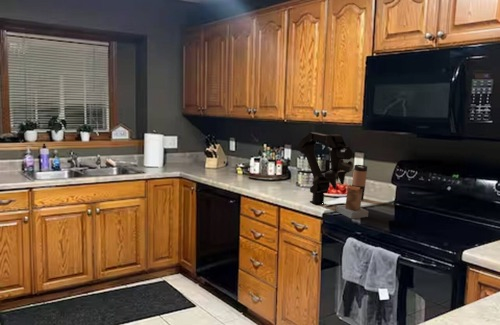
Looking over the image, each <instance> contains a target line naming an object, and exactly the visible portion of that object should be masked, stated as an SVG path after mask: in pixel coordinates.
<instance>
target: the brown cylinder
mask: <svg viewBox="0 0 500 325" xmlns="http://www.w3.org/2000/svg"><path fill="white" fill-rule="evenodd" d="M346 191H347V192H346V199H345V205H346V207H345V209H349V210H354V211H357V210H359V209H360V208H361V206H362V203H361V202H362V200H361V197H362V189H360V190H359V191H355V190H350V187H348V188H347V190H346Z"/></svg>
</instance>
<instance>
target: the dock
mask: <svg viewBox="0 0 500 325" xmlns="http://www.w3.org/2000/svg"><path fill="white" fill-rule="evenodd" d="M345 207H346V204H344V205H337V206H336V213H339V214H341V215H343V216H345V217H347V218H349V219H360V218H368V217H369V210H367V209H364V208H363V207H360V209H359V210H357V211H354V210H349V209H345Z"/></svg>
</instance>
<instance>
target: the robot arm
mask: <svg viewBox="0 0 500 325" xmlns="http://www.w3.org/2000/svg"><path fill="white" fill-rule="evenodd" d="M317 141H319V142H323V143H324V142H325V144H327V145H328V147H326V150H327V151H329V158H330V160H329V161H328V164H330V168H329V170H328V171H326V172H324V174H323V173H322V170H321V167H320V165H319V162H318V159H317V158H316V155H315V150H316V144H317ZM298 147H299V150H300V152H301V153H302V154H303V155H304V156H305V157H306V160H307V163H308V167H309V168H310V170H311V174H312V176H313V179H312V180H313V181H312V186H310V188H309V192H310V193H311V194H312V199H311V200H309V203H310V204H313V205H314V206H320V204H322V203H325V202H324V201H325V200H324V199H325V194H327V193H328V191H329V189H330V185H331V186H332V187H331V188H333V189H334V190H336V189H337V179H339V182H340V184H341V185H344V183H345V178H346V175H347V173H350V172H352V170H353V169H354V163H353V161H351V159H352V158H353V150H352V149H351V148H350V146H348V145H347V144H346V142H345V139H344V138H343V136H342V135H341V134H326V133H320V132H317V131H316V132H315V131H311V132H309V133H308V134H307V135H305V137H303V138H301V140H300V141H299V143H298ZM344 160H346V161H347V160H348V162H344Z"/></svg>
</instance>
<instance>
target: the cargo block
mask: <svg viewBox="0 0 500 325" xmlns="http://www.w3.org/2000/svg"><path fill="white" fill-rule="evenodd" d="M349 188H350V190H355V191H359V190H360V187H355V186H352V185H351V186H350V187H349Z"/></svg>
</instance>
